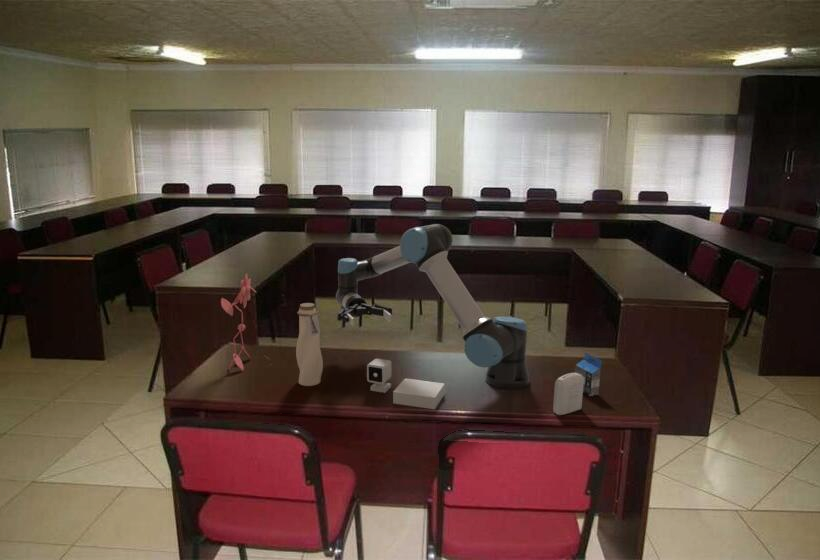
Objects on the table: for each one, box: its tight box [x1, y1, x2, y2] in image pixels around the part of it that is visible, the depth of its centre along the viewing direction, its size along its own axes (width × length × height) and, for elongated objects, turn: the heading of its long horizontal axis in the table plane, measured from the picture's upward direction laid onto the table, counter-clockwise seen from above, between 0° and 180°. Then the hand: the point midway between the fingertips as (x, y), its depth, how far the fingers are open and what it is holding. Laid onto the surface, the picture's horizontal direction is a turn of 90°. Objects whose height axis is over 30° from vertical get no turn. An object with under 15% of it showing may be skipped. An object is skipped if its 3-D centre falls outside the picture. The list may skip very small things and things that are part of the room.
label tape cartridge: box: [574, 352, 603, 397], centre depth 208 cm, size 9×4×12 cm, turn 23°
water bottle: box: [295, 302, 324, 387], centre depth 212 cm, size 10×9×28 cm
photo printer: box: [552, 372, 584, 416], centre depth 193 cm, size 10×4×12 cm, turn 123°
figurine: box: [220, 272, 272, 376], centre depth 226 cm, size 15×26×35 cm, turn 178°
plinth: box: [392, 378, 446, 410], centre depth 202 cm, size 14×12×4 cm
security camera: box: [366, 357, 392, 394], centre depth 208 cm, size 6×7×10 cm
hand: (371, 320), depth 212 cm, fingers open, 13 cm apart
